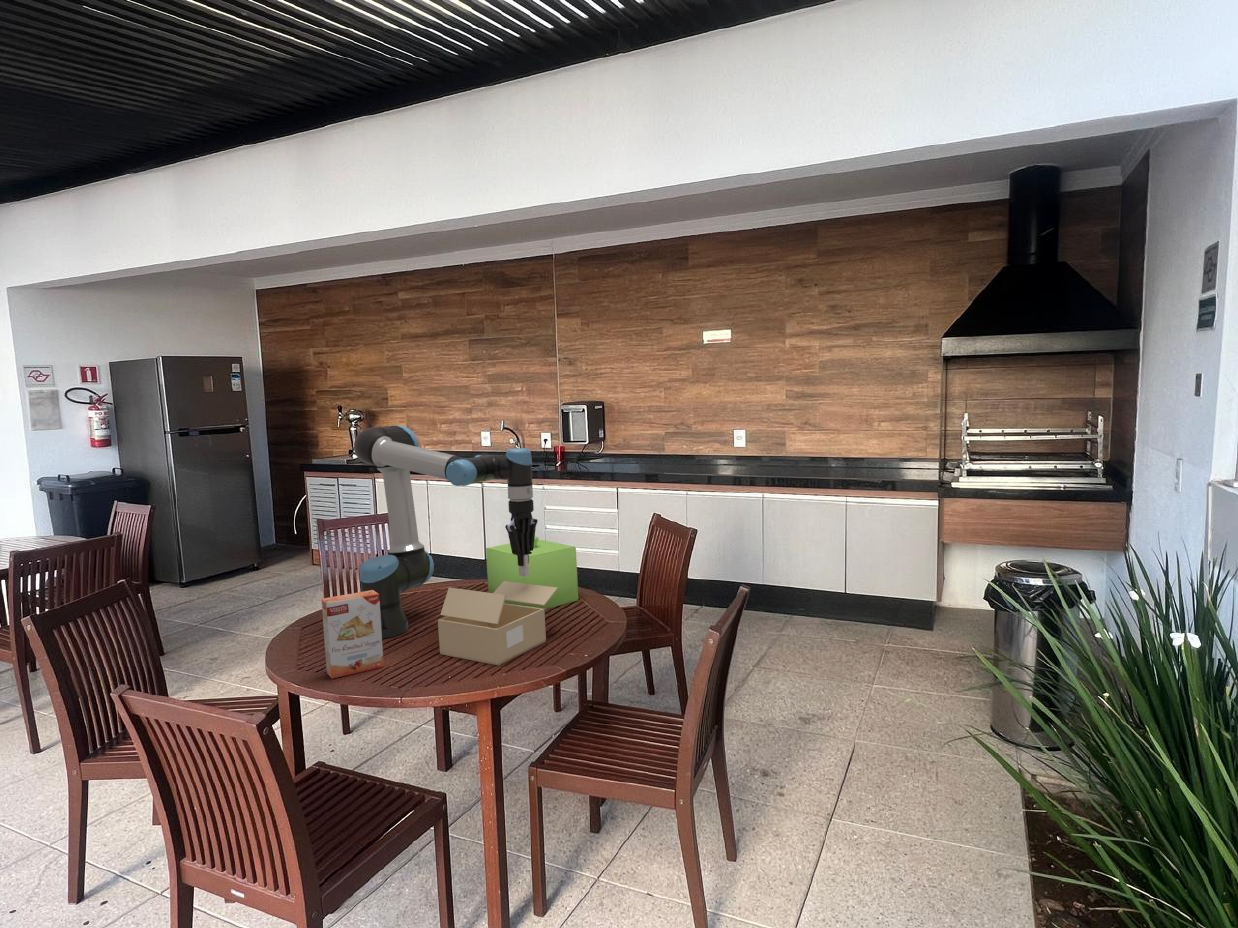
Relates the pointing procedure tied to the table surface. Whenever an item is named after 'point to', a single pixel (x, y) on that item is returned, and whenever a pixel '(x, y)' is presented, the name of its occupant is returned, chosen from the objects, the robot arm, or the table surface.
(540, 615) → the carton
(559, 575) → the canister
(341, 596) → the cracker box
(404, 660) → the table surface
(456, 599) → the flap
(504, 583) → the flap
